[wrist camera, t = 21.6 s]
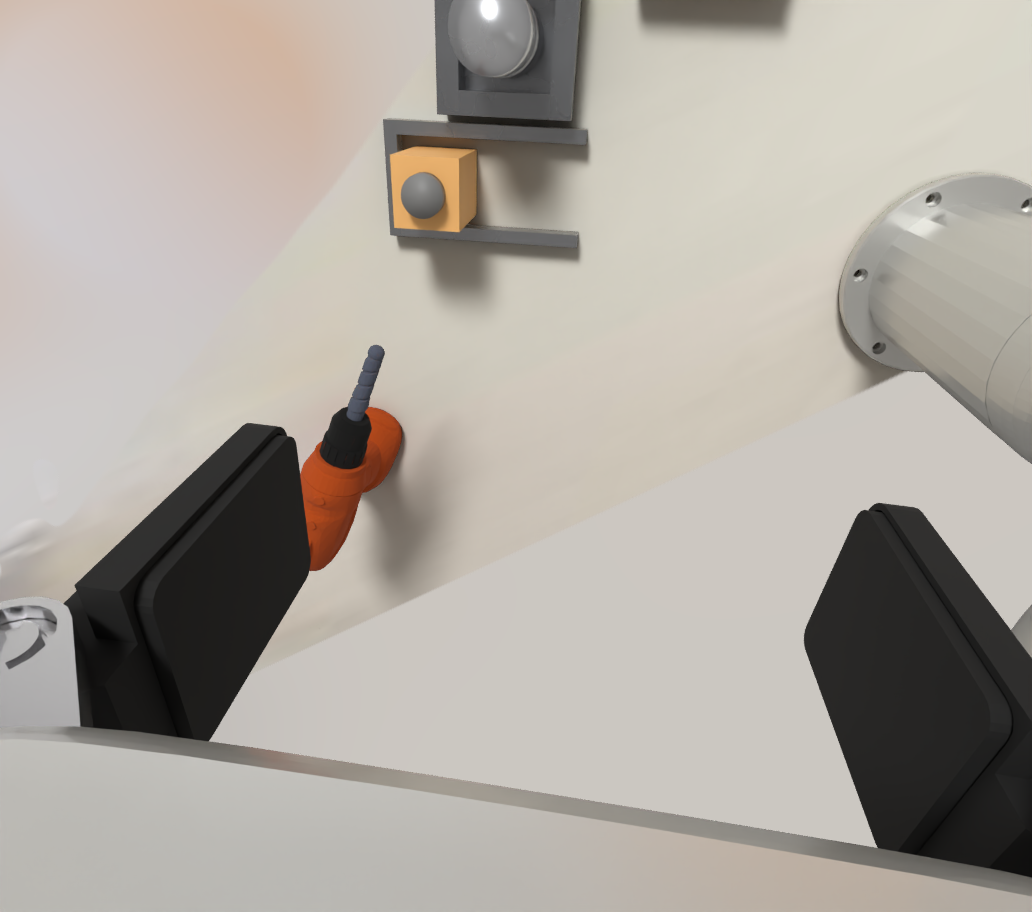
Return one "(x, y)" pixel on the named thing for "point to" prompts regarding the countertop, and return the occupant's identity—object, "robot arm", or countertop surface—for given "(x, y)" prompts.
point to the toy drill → (347, 465)
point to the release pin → (434, 188)
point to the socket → (523, 97)
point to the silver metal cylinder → (496, 36)
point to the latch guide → (480, 131)
